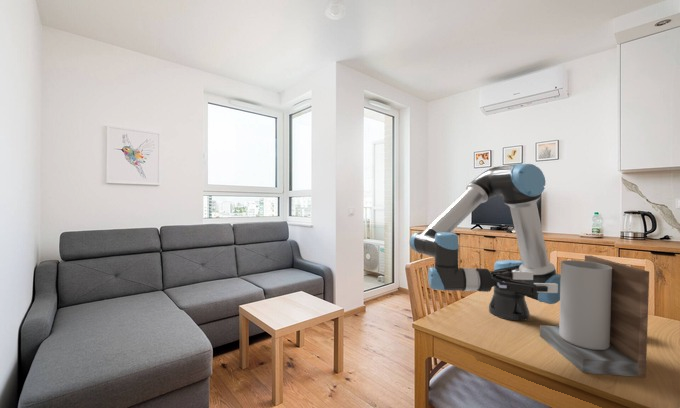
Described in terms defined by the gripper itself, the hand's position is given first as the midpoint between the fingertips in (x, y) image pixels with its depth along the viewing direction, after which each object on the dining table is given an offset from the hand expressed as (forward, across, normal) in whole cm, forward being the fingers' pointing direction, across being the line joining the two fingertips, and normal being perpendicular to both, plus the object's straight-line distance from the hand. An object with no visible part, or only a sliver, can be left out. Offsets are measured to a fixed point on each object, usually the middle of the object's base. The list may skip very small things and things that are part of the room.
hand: (544, 281), depth 95 cm
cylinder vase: (+12, 0, -19) cm, 23 cm away
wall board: (+13, +1, -23) cm, 26 cm away
